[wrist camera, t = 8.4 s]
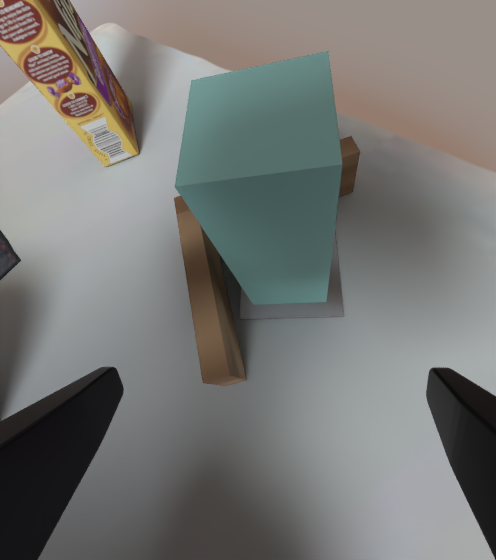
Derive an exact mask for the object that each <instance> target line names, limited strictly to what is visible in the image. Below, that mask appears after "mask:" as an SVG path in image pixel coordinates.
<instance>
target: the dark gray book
mask: <svg viewBox="0 0 496 560" xmlns="http://www.w3.org/2000/svg"><path fill="white" fill-rule="evenodd" d="M20 261H21V260H20V259H19V257H18V256H17V255H16V254H15V252H14V251H13V249H12V247H11V245H10V244H9V242H8V240H7V239H6V238H5V236H4V235H3V234H2V232H1V231H0V280H1V279H2V278H3V277H4V276H5V275H6V274H7V273H8V272H9V271H10V270H11V269H12V268H14V267H15V266H16V265H17V264H18V263H19V262H20Z"/></svg>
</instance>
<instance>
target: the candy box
mask: <svg viewBox="0 0 496 560" xmlns="http://www.w3.org/2000/svg"><path fill="white" fill-rule="evenodd" d="M0 46H1V47H2V48H3V49H4V50H5V52H6V53H7V54H8V55H9V56H10V57H11V59H12V60H13V61H14V62H15V63H16V64H17V66H18V67H19V68H20V69H21V70H22V71H23V72H24V73H25V75H26V76H27V77H28V78H29V79H30V81H31V82H32V83H33V84H34V85H35V86H36V88H37V89H38V90H39V91H40V92H41V93H42V95H43V96H44V97H45V98H46V99H47V101H48V102H49V103H50V104H51V105H52V106H53V108H54V109H55V110H56V111H57V112H58V113H59V114H60V116H61V117H62V118H63V119H64V120H65V121H66V123H67V124H68V125H69V126H70V127H71V128H72V129H73V131H74V132H75V133H76V134H77V135H78V136H79V138H80V139H81V140H82V141H83V142H84V143H85V144H86V146H87V147H88V148H89V149H90V150H91V151H92V153H93V154H94V155H95V156H96V157H97V158H98V160H99V161H100V162H101V163H102V164H103V166H104V167H107V166H110V165H113V164H115V163H118V162H121V161H123V160H126V159H128V158H131V157H133V156H135V155H138V154H139V149H138V145H137V140H136V134H135V128H134V122H133V115H132V109H131V102H130V101H129V99H128V97H127V96H126V94H125V92H124V91H123V89H122V87H121V86H120V84H119V82H118V81H117V79H116V77H115V76H114V74H113V72H112V71H111V69H110V67H109V65H108V64H107V62H106V60H105V59H104V57H103V55H102V54H101V52H100V50H99V49H98V47H97V45H96V44H95V42H94V41H93V39H92V37H91V35H90V34H89V32H88V30H87V29H86V27H85V25H84V24H83V22H82V21H81V19H80V17H79V15H78V14H77V12H76V10H75V9H74V7H73V5H72V4H71V2H70V0H0Z"/></svg>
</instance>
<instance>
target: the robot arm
mask: <svg viewBox="0 0 496 560" xmlns="http://www.w3.org/2000/svg"><path fill="white" fill-rule="evenodd" d="M123 390H124V389H123V385H122V382H121V379H120V376H119V374H118V371H117V369H116V368H115V367H101V368H99V369H97V370H95V371H93V372H91V373H90V374H88V375H86V376H84V377H82V378H80V379H78V380H77V381H75V382H73V383H71V384H69V385H67V386H65V387H64V388H62V389H60V390H58V391H56V392H54V393H53V394H51V395H49V396H47V397H45V398H43V399H41V400H40V401H38V402H36V403H34V404H32V405H30V406H28V407H27V408H25V409H23V410H21V411H19V412H17V413H15V414H14V415H12V416H10V417H8V418H6V419H4V420H2V421H1V422H0V560H38V558H39V556H40V554H41V552H42V550H43V549H44V547H45V545H46V543H47V541H48V539H49V538H50V536H51V534H52V532H53V530H54V529H55V527H56V525H57V523H58V521H59V519H60V518H61V516H62V514H63V512H64V510H65V508H66V507H67V505H68V503H69V501H70V499H71V498H72V496H73V494H74V492H75V490H76V488H77V487H78V485H79V483H80V481H81V479H82V478H83V476H84V474H85V472H86V470H87V468H88V467H89V465H90V463H91V461H92V459H93V457H94V456H95V454H96V452H97V450H98V448H99V446H100V444H101V442H102V440H103V438H104V436H105V434H106V432H107V429H108V427H109V425H110V423H111V420H112V418H113V416H114V414H115V411H116V409H117V407H118V404H119V402H120V400H121V398H122V395H123ZM426 397H427V402H428V405H429V407H430V410H431V413H432V416H433V419H434V421H435V424H436V427H437V430H438V433H439V435H440V438H441V441H442V444H443V446H444V449H445V452H446V455H447V457H448V460H449V463H450V465H451V467H452V469H453V472H454V474H455V476H456V478H457V480H458V482H459V484H460V487H461V489H462V491H463V493H464V495H465V497H466V499H467V501H468V503H469V505H470V507H471V510H472V512H473V514H474V516H475V518H476V520H477V522H478V524H479V526H480V528H481V530H482V532H483V535H484V537H485V539H486V541H487V543H488V545H489V547H490V549H491V551H492V553H493V555H494V557H495V560H496V396H494V395H493V394H491V393H490V392H488V391H486V390H485V389H483V388H481V387H480V386H478V385H477V384H475V383H473V382H472V381H470V380H468V379H467V378H465V377H464V376H462V375H460V374H459V373H457V372H455V371H454V370H452V369H450V368H431V369H430V371H429V376H428V383H427V391H426Z"/></svg>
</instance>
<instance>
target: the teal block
mask: <svg viewBox="0 0 496 560" xmlns="http://www.w3.org/2000/svg"><path fill="white" fill-rule="evenodd" d="M341 173H342V156H341V148H340V140H339V133H338V125H337V117H336V109H335V101H334V93H333V85H332V77H331V69H330V61H329V53H328V51H326V52H322V53H317V54H312V55H308V56H303V57H298V58H294V59H289V60H284V61H280V62H275V63H271V64H266V65H261V66H256V67H252V68H247V69H242V70H238V71H233V72H228V73H224V74H219V75H214V76H210V77H205V78H200V79H196V80H191V86H190V92H189V99H188V105H187V112H186V118H185V125H184V131H183V138H182V144H181V150H180V157H179V163H178V170H177V176H176V183H175V188H176V189H177V191H178V192H179V194H180V195H181V197H182V198H183V200H184V201H185V203H186V204H187V206H188V207H189V209H190V210H191V212H192V213H193V215H194V216H195V218H196V219H197V221H198V222H199V224H200V225H201V227H202V228H203V230H204V231H205V233H206V234H207V236H208V237H209V239H210V240H211V242H212V243H213V245H214V246H215V248H216V249H217V251H218V252H219V254H220V255H221V257H222V258H223V260H224V261H225V263H226V264H227V266H228V267H229V269H230V270H231V272H232V273H233V275H234V276H235V278H236V279H237V281H238V282H239V284H240V285H241V287H242V288H243V290H244V291H245V293H246V294H247V296H248V297H249V299H250V300H251V302H252V303H253V305H261V304H287V303H314V302H326V301H327V293H328V284H329V275H330V267H331V258H332V250H333V241H334V233H335V224H336V216H337V207H338V198H339V190H340V181H341Z"/></svg>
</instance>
